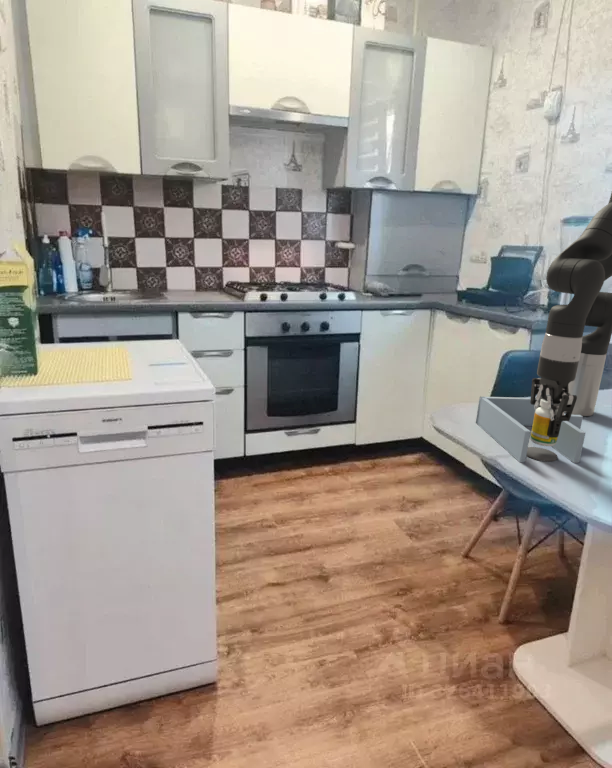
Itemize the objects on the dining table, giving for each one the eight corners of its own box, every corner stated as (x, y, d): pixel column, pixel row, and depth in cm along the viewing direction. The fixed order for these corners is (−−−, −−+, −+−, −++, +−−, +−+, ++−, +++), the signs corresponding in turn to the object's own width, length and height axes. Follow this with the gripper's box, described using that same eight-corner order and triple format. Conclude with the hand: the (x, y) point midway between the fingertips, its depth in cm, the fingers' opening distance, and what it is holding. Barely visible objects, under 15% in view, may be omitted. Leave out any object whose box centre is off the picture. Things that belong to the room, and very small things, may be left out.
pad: (517, 448, 122) (517, 446, 122) (546, 448, 123) (547, 447, 123) (532, 461, 116) (533, 459, 115) (563, 461, 116) (564, 460, 116)
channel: (475, 422, 137) (479, 396, 135) (547, 424, 139) (552, 398, 137) (519, 462, 115) (525, 431, 113) (604, 463, 117) (611, 433, 115)
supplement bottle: (533, 435, 122) (540, 395, 119) (558, 441, 119) (567, 400, 116) (526, 442, 118) (534, 400, 115) (553, 449, 115) (561, 406, 112)
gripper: (597, 365, 107) (580, 444, 111) (557, 349, 120) (544, 420, 125) (561, 364, 106) (545, 444, 111) (525, 347, 119) (513, 419, 124)
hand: (544, 431), depth 118 cm, fingers closed on supplement bottle, 5 cm apart
